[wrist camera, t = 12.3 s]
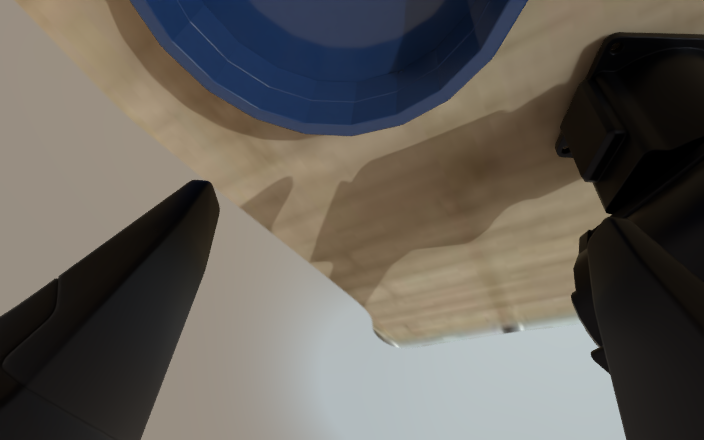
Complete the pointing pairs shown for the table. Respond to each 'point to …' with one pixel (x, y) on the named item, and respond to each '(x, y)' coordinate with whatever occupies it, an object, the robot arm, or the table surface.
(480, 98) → the table surface
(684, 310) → the robot arm
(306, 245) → the table surface
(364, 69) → the blue bowl
